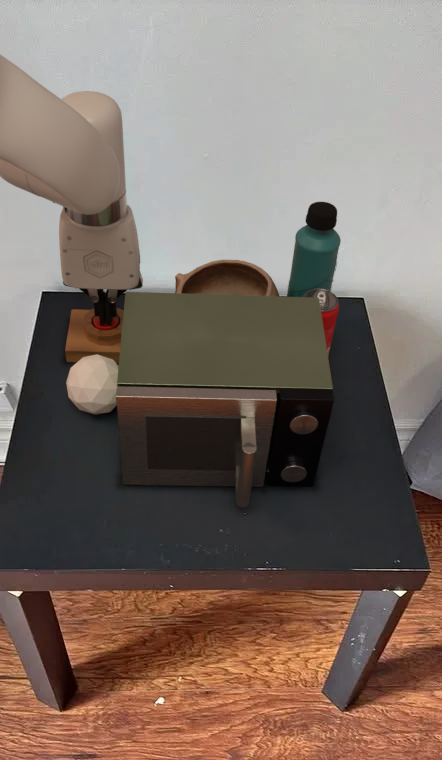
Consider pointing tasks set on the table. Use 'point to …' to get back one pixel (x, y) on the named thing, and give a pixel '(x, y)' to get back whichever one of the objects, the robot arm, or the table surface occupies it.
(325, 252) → the beverage bottle
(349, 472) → the table surface
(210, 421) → the microwave door
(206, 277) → the bowl
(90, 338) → the button block
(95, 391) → the geometric ball
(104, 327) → the release button
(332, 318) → the beverage can
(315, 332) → the microwave
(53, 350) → the table surface
